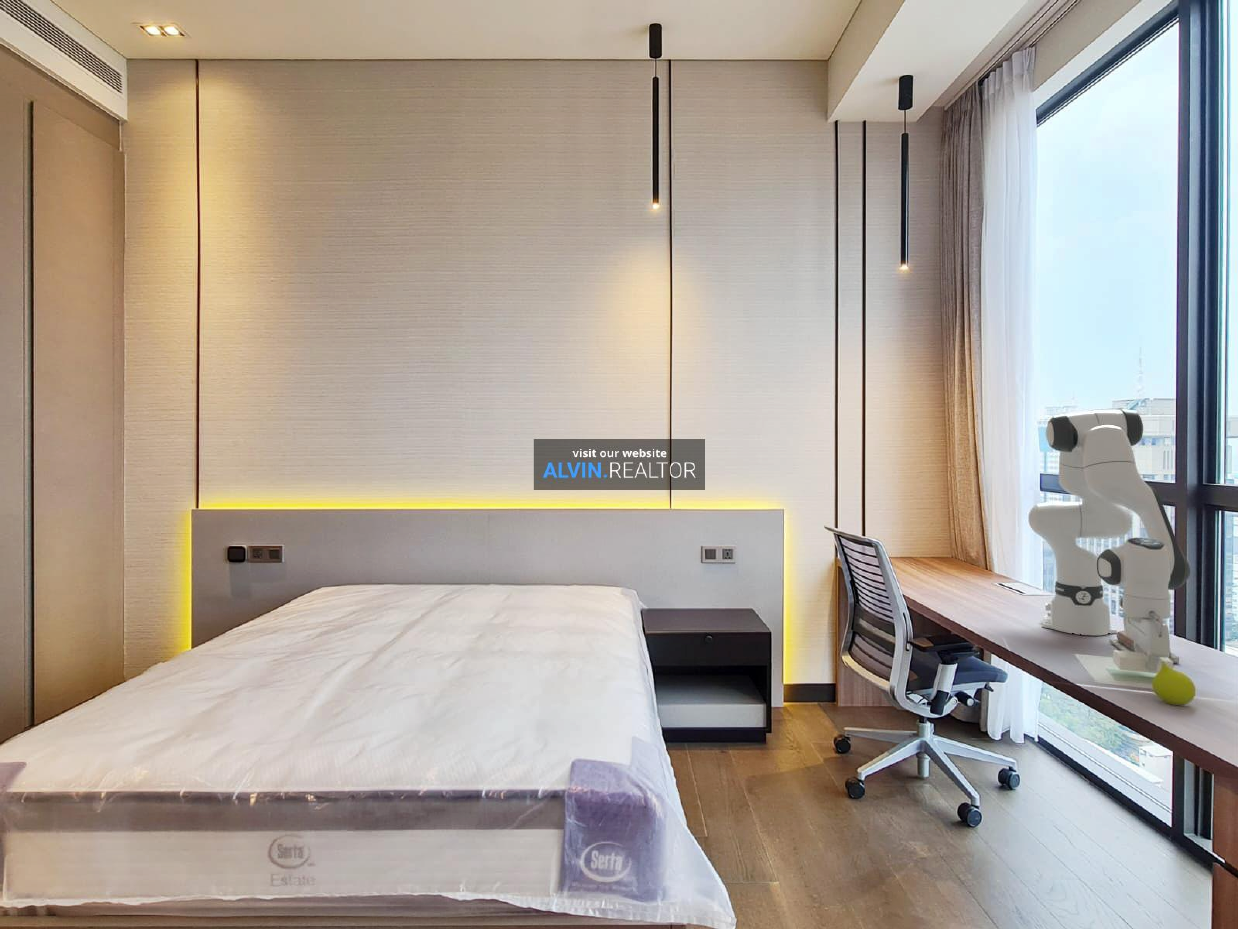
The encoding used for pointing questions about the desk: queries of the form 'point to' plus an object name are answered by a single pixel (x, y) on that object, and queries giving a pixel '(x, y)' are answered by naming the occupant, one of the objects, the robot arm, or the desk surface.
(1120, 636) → the packaged product
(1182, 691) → the yellow-green rounded piece
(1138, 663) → the card box
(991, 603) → the desk surface
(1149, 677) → the mat
